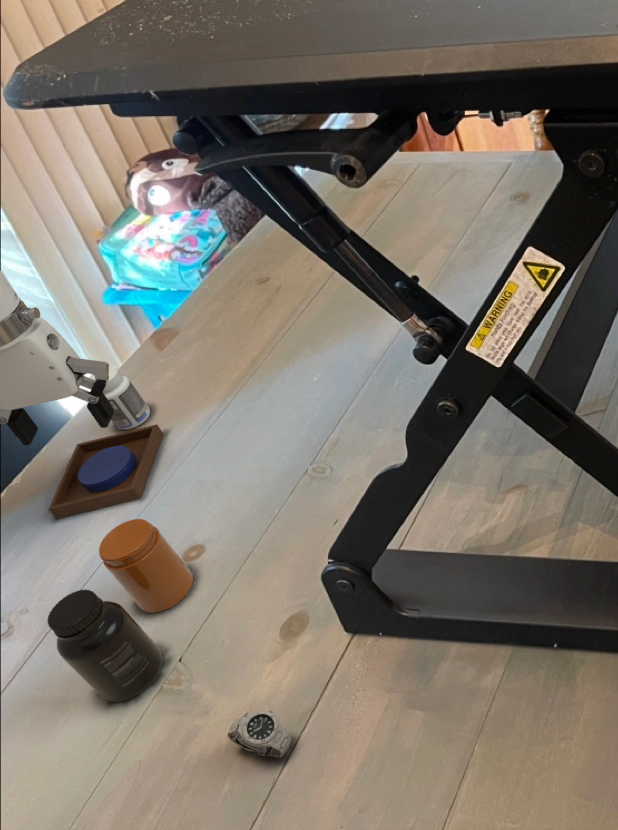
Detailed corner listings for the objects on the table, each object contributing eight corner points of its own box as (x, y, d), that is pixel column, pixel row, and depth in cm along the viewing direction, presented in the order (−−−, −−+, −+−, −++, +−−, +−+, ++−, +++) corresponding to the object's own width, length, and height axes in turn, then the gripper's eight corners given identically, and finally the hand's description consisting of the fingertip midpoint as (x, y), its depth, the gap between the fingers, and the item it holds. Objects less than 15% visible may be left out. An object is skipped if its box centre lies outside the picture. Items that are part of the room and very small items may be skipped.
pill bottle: (146, 402, 152) (115, 358, 147) (155, 417, 149) (124, 373, 143) (112, 420, 150) (80, 377, 145) (121, 436, 147) (88, 392, 141)
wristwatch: (284, 768, 102) (261, 741, 99) (232, 757, 104) (208, 731, 101) (304, 734, 105) (282, 707, 101) (253, 724, 106) (230, 697, 103)
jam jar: (133, 619, 120) (89, 568, 114) (145, 577, 125) (103, 525, 119) (188, 603, 121) (147, 551, 115) (197, 561, 125) (158, 510, 120)
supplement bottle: (166, 637, 117) (109, 570, 110) (163, 687, 112) (104, 620, 105) (102, 663, 116) (41, 597, 109) (97, 714, 111) (31, 649, 103)
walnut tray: (56, 519, 136) (47, 509, 134) (84, 453, 145) (77, 443, 144) (141, 498, 136) (133, 488, 135) (163, 433, 145) (157, 424, 144)
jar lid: (136, 478, 138) (130, 469, 138) (83, 500, 137) (76, 492, 136) (136, 446, 144) (130, 438, 143) (84, 467, 142) (78, 459, 141)
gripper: (78, 291, 128) (146, 394, 138) (-67, 322, 127) (12, 424, 137) (58, 328, 122) (130, 433, 132) (-94, 362, 121) (-10, 465, 131)
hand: (70, 428), depth 135 cm, fingers open, 9 cm apart
